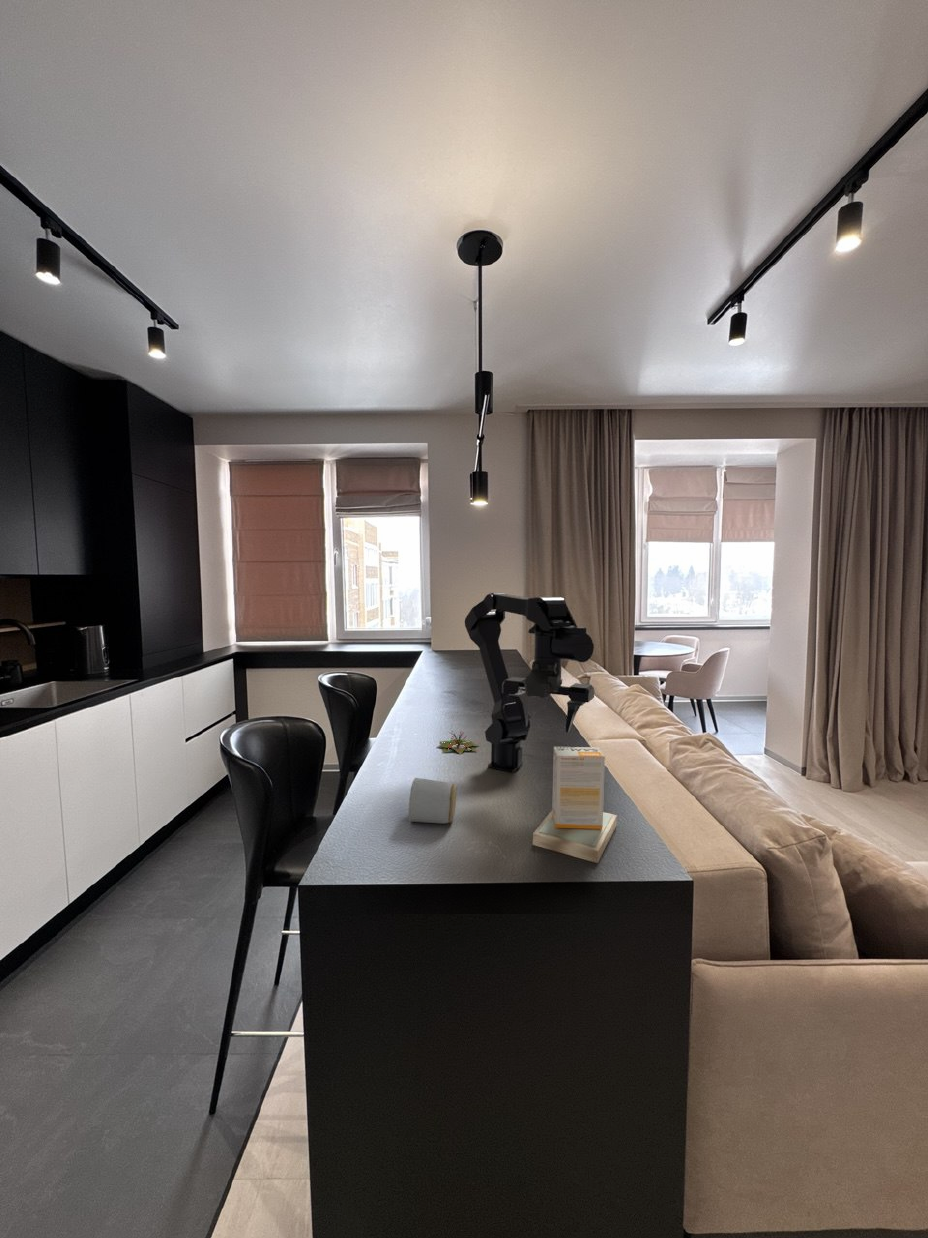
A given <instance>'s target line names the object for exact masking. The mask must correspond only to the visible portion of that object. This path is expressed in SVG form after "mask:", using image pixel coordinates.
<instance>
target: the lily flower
mask: <svg viewBox="0 0 928 1238" xmlns="http://www.w3.org/2000/svg"><path fill="white" fill-rule="evenodd" d="M449 734H450V735H452V736H451V737H450V740H443V741H441V740H439V742H440V743H441V744H439V745H438V746H437V748H443V749H442V753H443V754H444V753H450V752H451V750H449V751H448V748H450V749H453V750H455V751H454V752H457V753H458V754H459V755H462V753H463V752H464V751H465V752H471V751H470V750H468V749H467V748H466V747H469V748H470V749H471V750H473V751H472V752H476V753H477V752H478V751H477V750H476V748H475V747H479V744H475V743H474V742H473V740H472V741H470V740H471V739H468V740H467V739H466V738H467V735H465V736H464V734H465V731H463V732H462V730H461V731H460V732H459V734H458V733H457V735H456V734H455V733H454V732H453V730H451V732H449ZM463 736H464V737H463ZM462 737H463V738H462ZM466 741H470V742H466ZM442 742H443V743H442ZM444 742H445V743H444ZM463 742H466V743H463ZM450 743H451V744H450ZM456 744H458V745H456ZM453 745H456V747H452V746H453ZM459 745H464V746H465V747H463V748H462V747H460V746H459ZM473 746H475V747H473ZM459 747H460V748H459Z"/></svg>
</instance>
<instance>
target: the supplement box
mask: <svg viewBox="0 0 928 1238" xmlns="http://www.w3.org/2000/svg"><path fill="white" fill-rule="evenodd" d="M605 760H606V756H605V755H604V753H603V752H602V750H601V749H600V748H599V747H594V746H593V747H591V746H590V747H589V746H588V747H587V746H586V747H583V746H582V747H581V746H580V747H579V746H576V747H575V746H553V760H552V761H553V763H552V797H551V798H552V801H551V802H552V805H551V806H552V807H551V811H552V816H553V819H554V823H555V826H556V828H580V829H602V827H603V812H604V798H605V796H604V793H605V792H604V791H605V769H606V768H605V765H606V764H605V763H606V762H605Z"/></svg>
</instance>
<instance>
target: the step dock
mask: <svg viewBox="0 0 928 1238" xmlns="http://www.w3.org/2000/svg"><path fill="white" fill-rule="evenodd" d="M617 821H618V815H617V814H613V813H609V812H605V811H603V827H602V829H580V828H556V826H555V823H554V819H553V816H552V810H550V812H549V813H548V814H547V816H545V818H544V819H543V821H542V822H541V823H540V824H539V825H538V827H537V828H536V829H534V832H533V833H532V846H536V847H540V848H543V849H546V850H550V851H553V852H557V853H560V854H564V855H568V856H571V857H575V858H578V859H582V860H585V861H589V862H592V863H595V864H599V861H600V860H601V858H602V855H603V854H604V851H605V850H606V847H607V846H608V843H609V842H610V840H611V837H612V835H613V834H614V831H615V829H616V828H617V823H618V822H617Z"/></svg>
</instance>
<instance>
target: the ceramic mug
mask: <svg viewBox="0 0 928 1238" xmlns="http://www.w3.org/2000/svg"><path fill="white" fill-rule="evenodd" d="M408 799H409V801H408V820H409V821H410V822H411V823H412V822H414V823H426V824H427V823H428V824H429V823H430V824H441V825H442V824H443V825H444V824H450V823H452V822H453V821H454V819H455V814H456V808H457V807H456V806H457V805H456V804H457V786H456V784H453V783H452V782H449V781H441V780H433V779H428V778H427V779H426V778H419V777H414V779H413V780H412V783H411V787H410V793H409V798H408Z"/></svg>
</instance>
